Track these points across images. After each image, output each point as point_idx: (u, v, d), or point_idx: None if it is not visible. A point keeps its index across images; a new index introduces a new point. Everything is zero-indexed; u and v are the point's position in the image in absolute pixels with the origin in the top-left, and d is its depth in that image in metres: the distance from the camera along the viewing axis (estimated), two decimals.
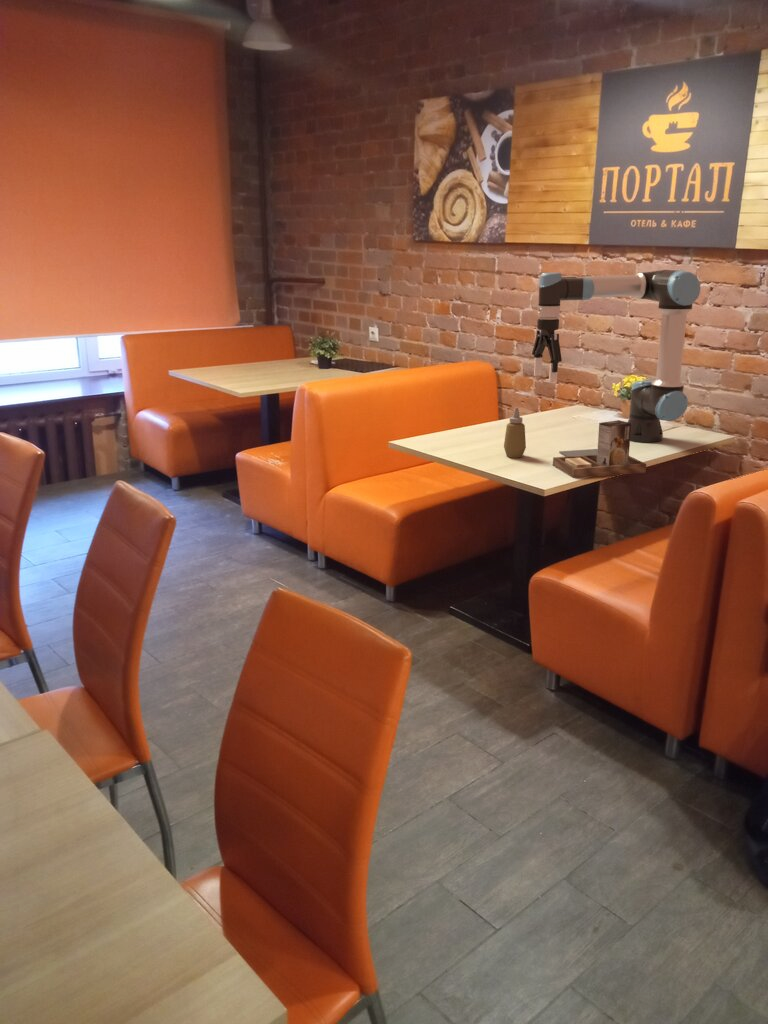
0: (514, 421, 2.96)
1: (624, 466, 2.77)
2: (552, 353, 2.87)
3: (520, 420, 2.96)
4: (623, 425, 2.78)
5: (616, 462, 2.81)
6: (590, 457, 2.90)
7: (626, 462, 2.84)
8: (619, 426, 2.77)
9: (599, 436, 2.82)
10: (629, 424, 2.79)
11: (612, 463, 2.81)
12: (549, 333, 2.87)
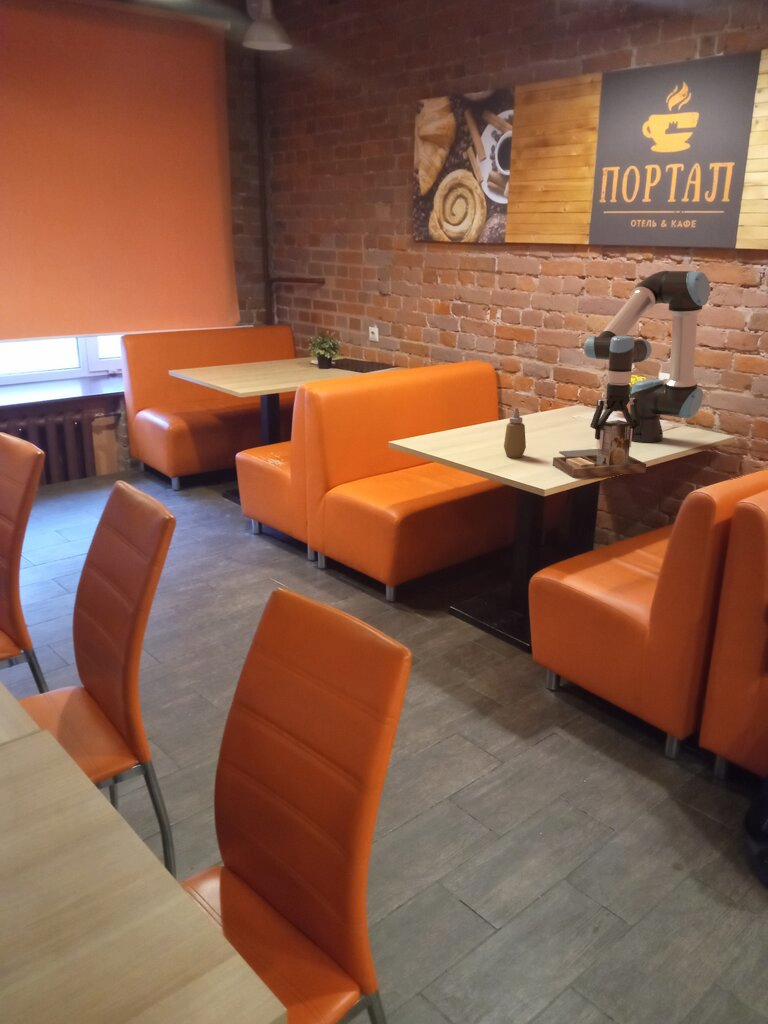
0: (514, 421, 2.96)
1: (624, 466, 2.77)
2: (600, 419, 2.79)
3: (520, 420, 2.96)
4: (623, 425, 2.78)
5: (616, 462, 2.81)
6: (590, 457, 2.90)
7: (626, 462, 2.84)
8: (619, 426, 2.77)
9: None
10: (629, 424, 2.79)
11: (612, 463, 2.80)
12: None
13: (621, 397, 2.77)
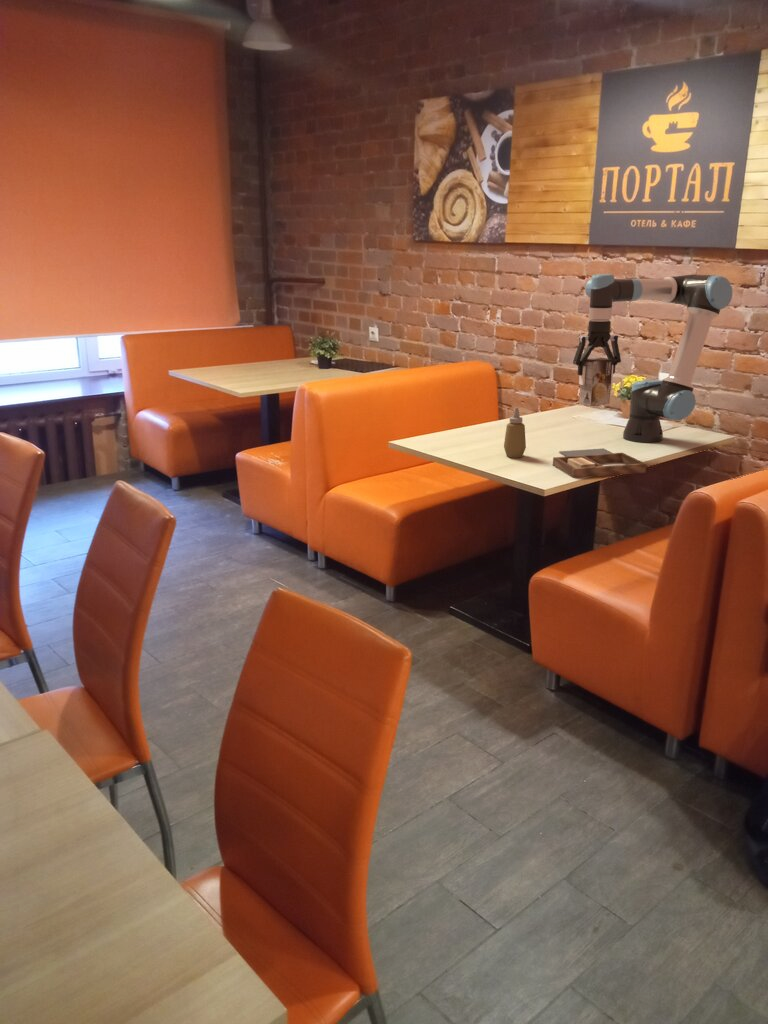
0: (514, 421, 2.96)
1: (624, 466, 2.77)
2: (582, 356, 2.90)
3: (520, 420, 2.96)
4: (604, 361, 2.89)
5: (598, 397, 2.92)
6: (590, 457, 2.90)
7: (608, 398, 2.94)
8: (600, 362, 2.88)
9: None
10: (611, 360, 2.90)
11: (594, 398, 2.91)
12: None
13: (602, 334, 2.87)
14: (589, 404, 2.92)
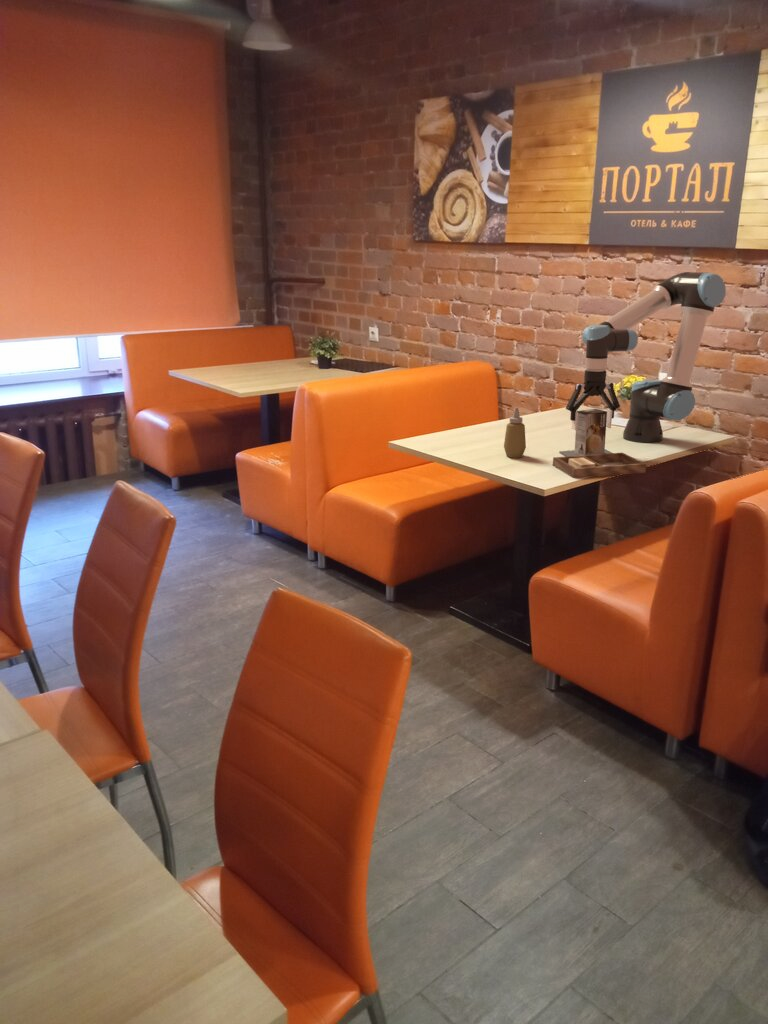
0: (514, 421, 2.96)
1: (624, 466, 2.77)
2: (576, 402, 2.95)
3: (520, 420, 2.96)
4: (599, 413, 2.94)
5: (592, 448, 2.98)
6: (590, 457, 2.90)
7: (602, 448, 3.00)
8: (595, 414, 2.94)
9: (577, 423, 2.98)
10: (605, 412, 2.96)
11: (588, 449, 2.97)
12: None
13: (597, 384, 2.93)
14: None
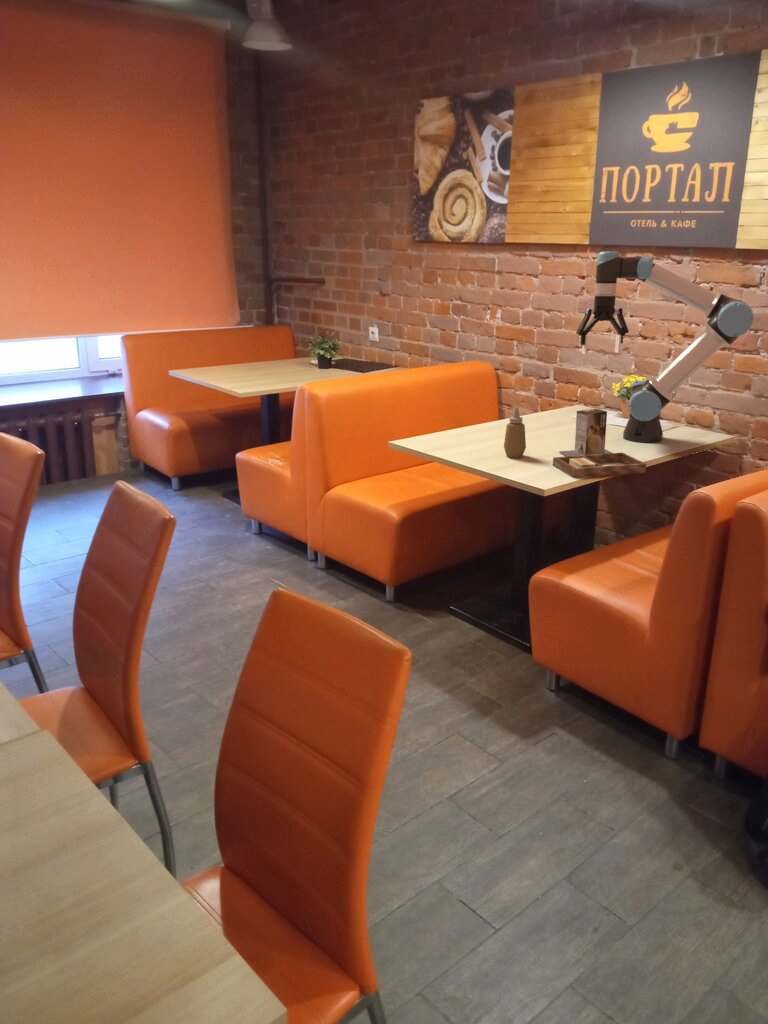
0: (514, 421, 2.96)
1: (624, 466, 2.77)
2: (586, 327, 3.06)
3: (520, 420, 2.96)
4: (599, 413, 2.94)
5: (592, 448, 2.98)
6: (590, 457, 2.90)
7: (602, 448, 3.00)
8: (595, 414, 2.94)
9: (577, 423, 2.98)
10: (605, 412, 2.96)
11: (588, 449, 2.97)
12: None
13: (607, 309, 3.04)
14: None
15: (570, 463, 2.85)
